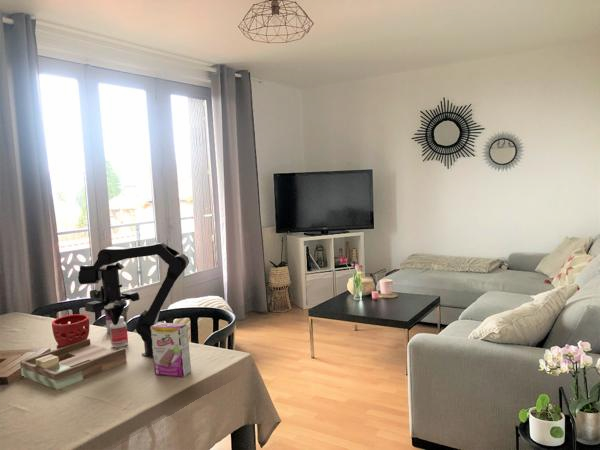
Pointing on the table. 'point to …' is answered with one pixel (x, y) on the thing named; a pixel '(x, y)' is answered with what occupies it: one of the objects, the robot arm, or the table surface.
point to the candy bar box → (170, 349)
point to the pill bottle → (119, 333)
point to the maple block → (48, 362)
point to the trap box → (73, 364)
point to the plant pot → (70, 329)
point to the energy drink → (108, 322)
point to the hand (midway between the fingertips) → (115, 324)
